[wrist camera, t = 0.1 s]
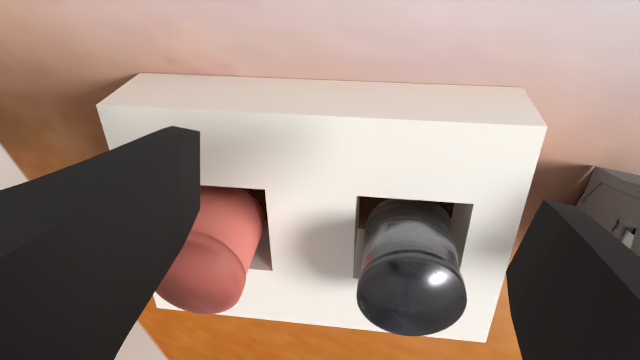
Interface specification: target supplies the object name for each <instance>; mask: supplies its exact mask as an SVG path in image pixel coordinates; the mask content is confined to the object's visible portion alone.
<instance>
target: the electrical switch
mask: <svg viewBox="0 0 640 360" xmlns="http://www.w3.org/2000/svg"><path fill="white" fill-rule="evenodd" d="M627 182H628V183H627ZM629 183H630V184H629ZM576 207H577V208H578V209H580V210H581V211H583V212H584V213H586V214H587V215H588V216H590V217H591V218H592V219H594V220H595V221H596V222H598V223H599V224H600V225H601V226H603V227H604V228H605V229H606V230H608V231H609V232H610V233H611V234H612V235H614V236H615V237H616V238H617V239H619V240H620V241H621V242H622V243H623V244H625V245H626V246H627V247H628V248H629V249H631V250H632V251H633V252H634V253H635V254H637V255H638V256H639V257H640V176H639V175H634V174H629V173H624V172H619V171H615V170H610V169H605V168H600V167H596V166H595V167H594V170H593V172H592V175H591V177H590V180H589V182H588V185H587V187H586V190H585V192H584V194H583V195H582V196H581V198H580V199H579V201H578V202H577V205H576Z"/></svg>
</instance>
